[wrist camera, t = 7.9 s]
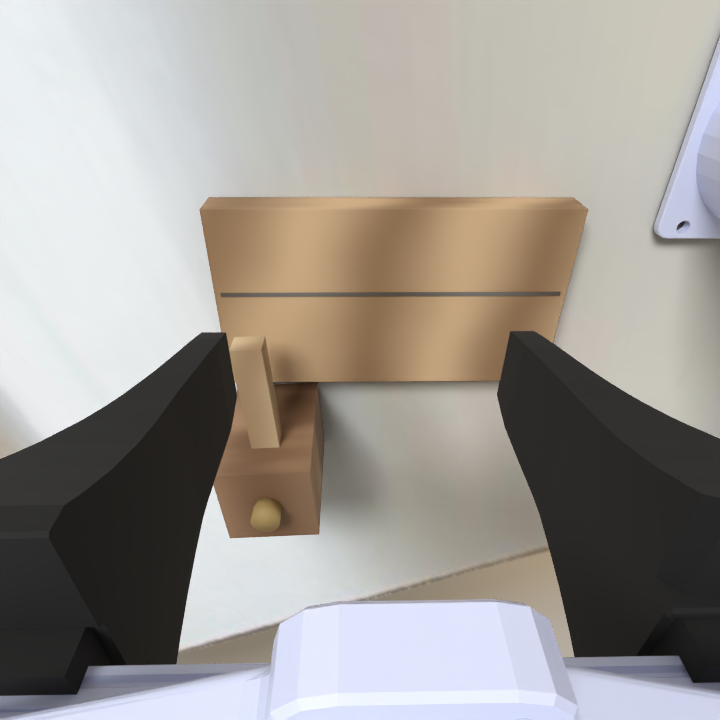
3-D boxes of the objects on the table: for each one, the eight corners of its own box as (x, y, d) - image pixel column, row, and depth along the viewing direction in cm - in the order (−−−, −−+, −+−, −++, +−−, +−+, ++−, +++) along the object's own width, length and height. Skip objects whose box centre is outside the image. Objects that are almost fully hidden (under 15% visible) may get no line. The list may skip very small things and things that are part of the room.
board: (573, 197, 20) (588, 209, 19) (532, 361, 24) (543, 380, 23) (208, 197, 20) (199, 209, 18) (236, 363, 24) (229, 383, 23)
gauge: (307, 292, 22) (293, 386, 16) (324, 440, 27) (318, 550, 22) (217, 297, 22) (173, 391, 17) (251, 443, 27) (226, 554, 22)
